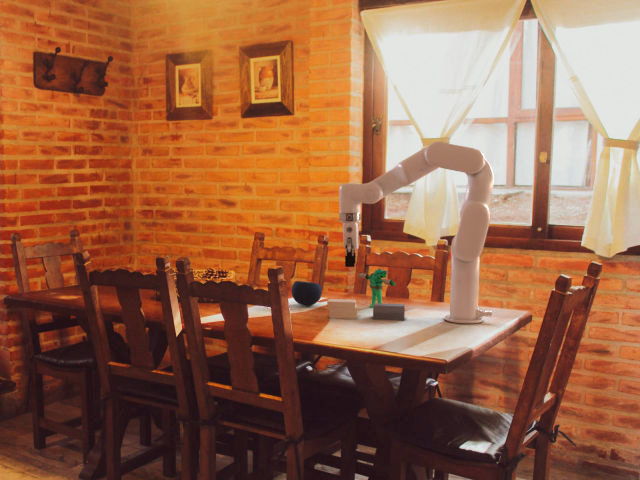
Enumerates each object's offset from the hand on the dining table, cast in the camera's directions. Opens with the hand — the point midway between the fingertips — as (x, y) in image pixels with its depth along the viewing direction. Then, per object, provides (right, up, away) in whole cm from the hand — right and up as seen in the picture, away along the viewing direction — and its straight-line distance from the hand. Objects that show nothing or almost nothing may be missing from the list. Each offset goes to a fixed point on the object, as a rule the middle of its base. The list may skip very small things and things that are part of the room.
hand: (350, 265), depth 271 cm
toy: (+14, -17, +18) cm, 28 cm away
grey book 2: (+13, -19, -2) cm, 24 cm away
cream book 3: (-2, -19, +1) cm, 19 cm away
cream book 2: (-2, -17, +1) cm, 17 cm away
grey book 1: (+13, -17, -2) cm, 22 cm away
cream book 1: (-3, -15, +1) cm, 15 cm away
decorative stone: (-14, -16, +24) cm, 32 cm away
